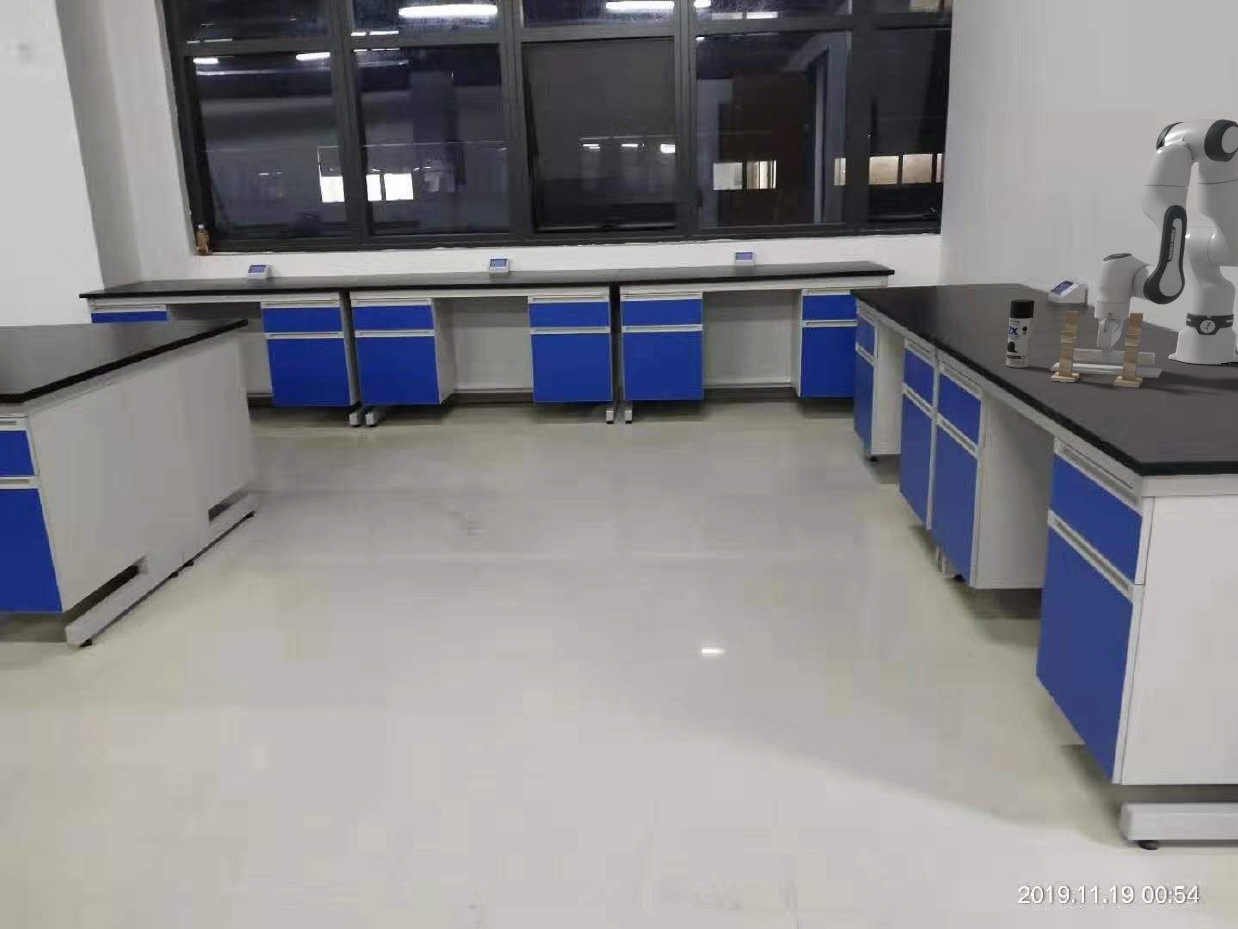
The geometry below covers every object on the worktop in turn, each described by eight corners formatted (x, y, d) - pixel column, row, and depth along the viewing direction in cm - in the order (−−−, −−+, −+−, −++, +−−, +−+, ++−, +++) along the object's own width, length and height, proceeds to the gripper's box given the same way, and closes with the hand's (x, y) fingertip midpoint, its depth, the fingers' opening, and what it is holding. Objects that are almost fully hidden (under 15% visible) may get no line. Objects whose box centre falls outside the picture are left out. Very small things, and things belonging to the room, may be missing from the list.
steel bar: (1062, 357, 283) (1063, 347, 282) (1153, 363, 270) (1155, 352, 269) (1060, 359, 281) (1061, 349, 280) (1152, 364, 268) (1153, 354, 267)
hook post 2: (1118, 380, 265) (1125, 312, 259) (1142, 381, 261) (1150, 312, 256) (1113, 385, 258) (1120, 316, 253) (1138, 387, 255) (1146, 316, 250)
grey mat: (1057, 364, 288) (1057, 362, 288) (1161, 371, 273) (1162, 368, 273) (1050, 370, 281) (1050, 368, 280) (1157, 377, 265) (1158, 375, 265)
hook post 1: (1056, 376, 273) (1062, 309, 268) (1078, 377, 270) (1085, 310, 265) (1050, 381, 267) (1056, 313, 262) (1073, 382, 264) (1079, 314, 258)
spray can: (1000, 365, 291) (1005, 300, 285) (1018, 363, 293) (1023, 298, 288) (1016, 369, 285) (1021, 302, 279) (1034, 366, 287) (1039, 300, 282)
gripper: (1119, 316, 261) (1113, 366, 265) (1128, 307, 278) (1123, 354, 282) (1093, 315, 265) (1088, 364, 269) (1104, 306, 281) (1100, 352, 285)
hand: (1106, 359), depth 275 cm, fingers closed on steel bar, 3 cm apart
